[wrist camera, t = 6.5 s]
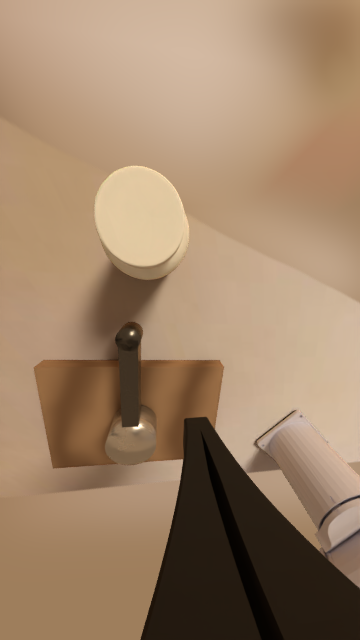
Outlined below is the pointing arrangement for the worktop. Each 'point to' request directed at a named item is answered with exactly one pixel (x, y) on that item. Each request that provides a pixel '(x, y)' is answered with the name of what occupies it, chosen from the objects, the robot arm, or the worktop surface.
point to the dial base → (104, 401)
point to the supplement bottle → (141, 222)
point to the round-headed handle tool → (131, 405)
